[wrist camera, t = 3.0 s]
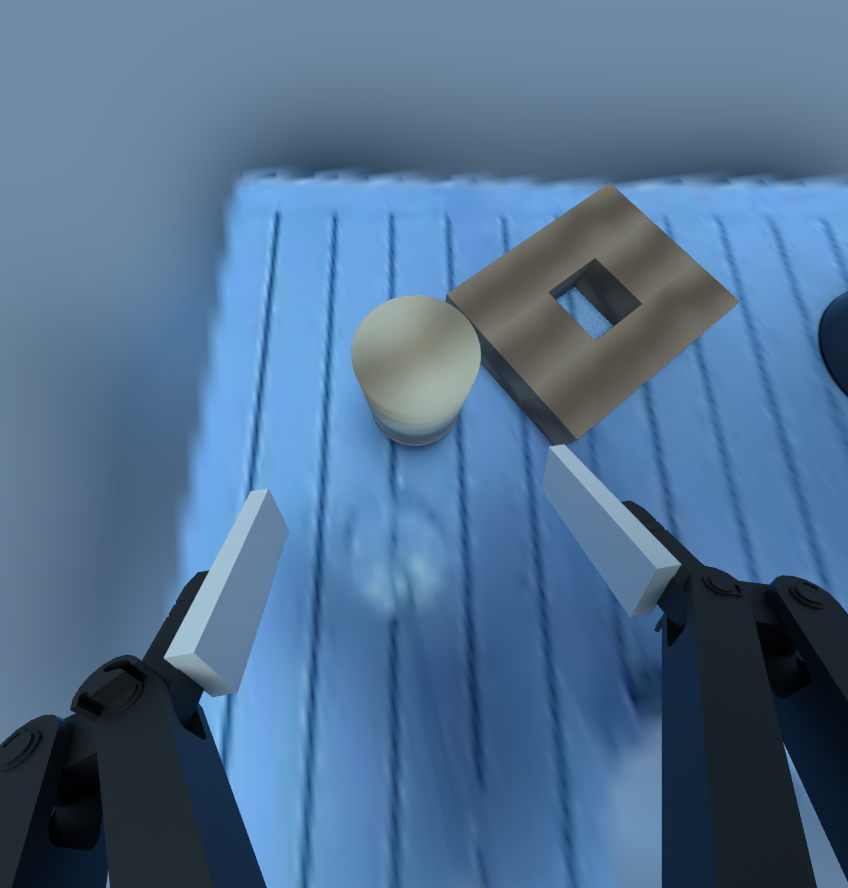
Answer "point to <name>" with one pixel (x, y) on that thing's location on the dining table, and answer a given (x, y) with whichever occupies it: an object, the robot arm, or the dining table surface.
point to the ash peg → (415, 366)
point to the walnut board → (609, 289)
